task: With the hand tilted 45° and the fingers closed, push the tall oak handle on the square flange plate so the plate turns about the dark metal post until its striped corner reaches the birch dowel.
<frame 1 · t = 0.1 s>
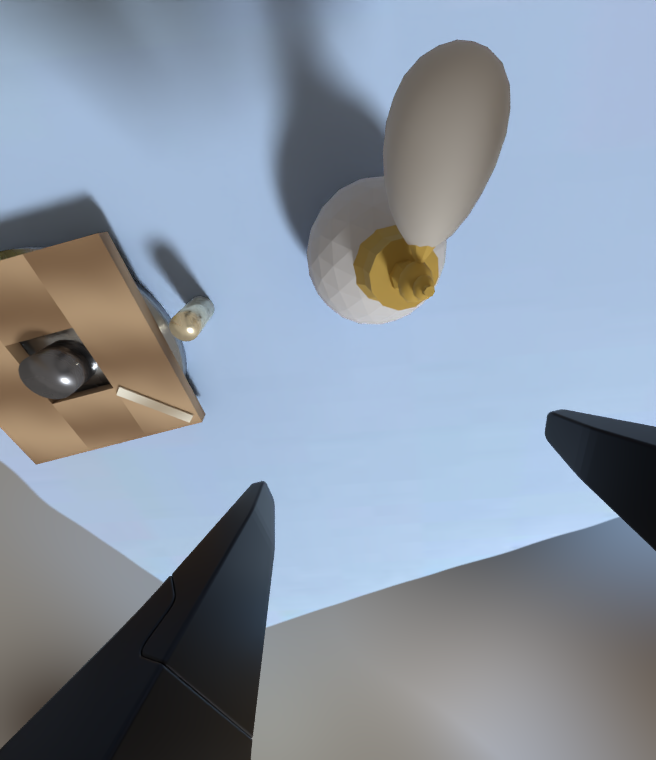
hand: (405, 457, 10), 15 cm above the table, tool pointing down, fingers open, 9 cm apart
flange plate: (5, 406, 16), point 7 cm above the table, hinge at 0.0°
perfume bottle: (357, 230, 20), on the table
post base: (81, 354, 22), on the table
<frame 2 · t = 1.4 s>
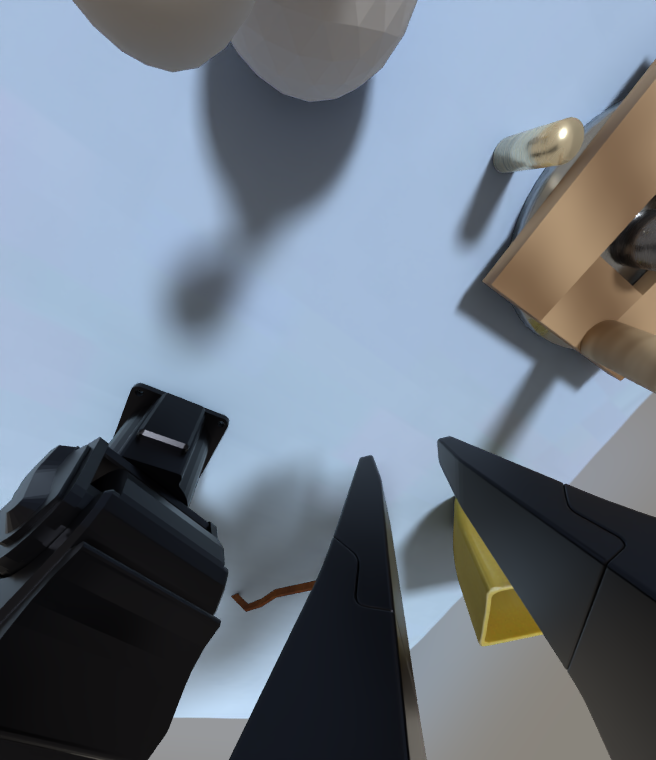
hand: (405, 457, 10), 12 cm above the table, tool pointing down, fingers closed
perfume bottle: (299, 41, 14), on the table
glasses: (313, 591, 36), on the table
flower pot: (478, 505, 31), on the table
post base: (621, 236, 19), on the table
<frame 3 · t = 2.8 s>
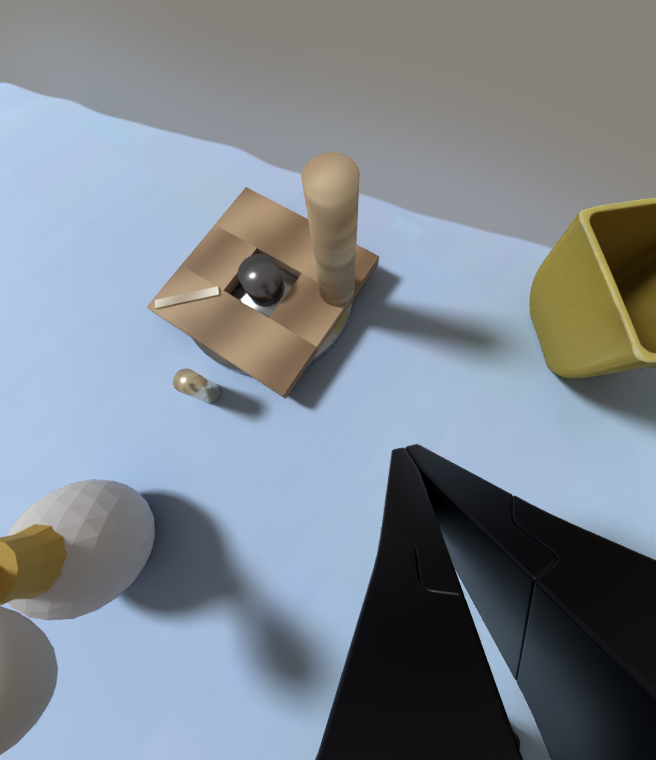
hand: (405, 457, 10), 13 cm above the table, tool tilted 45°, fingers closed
flange plate: (245, 243, 20), point 7 cm above the table, hinge at 0.0°
perfume bottle: (137, 538, 23), on the table
flower pot: (569, 336, 25), on the table
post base: (269, 295, 27), on the table
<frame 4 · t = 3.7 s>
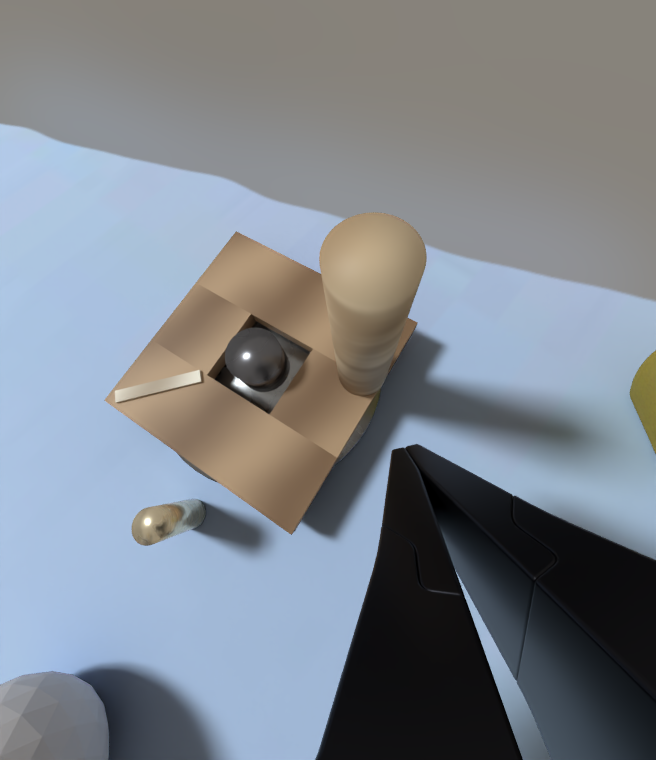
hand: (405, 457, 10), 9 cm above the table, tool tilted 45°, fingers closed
flange plate: (231, 329, 14), point 7 cm above the table, hinge at 0.0°
perfume bottle: (89, 740, 16), on the table
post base: (269, 372, 20), on the table
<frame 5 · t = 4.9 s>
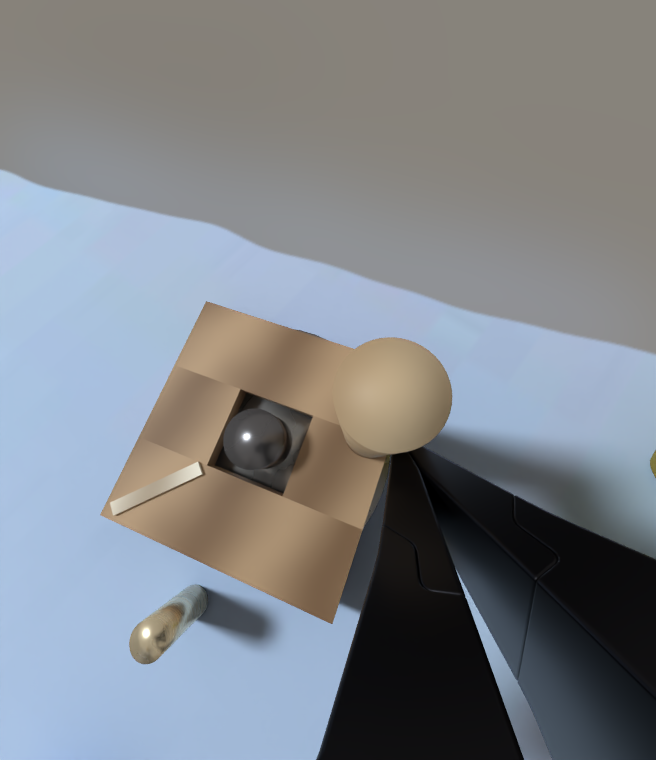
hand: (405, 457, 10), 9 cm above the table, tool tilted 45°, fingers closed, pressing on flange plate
flange plate: (229, 433, 13), point 7 cm above the table, hinge at 9.9°, touching gripper
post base: (270, 442, 19), on the table
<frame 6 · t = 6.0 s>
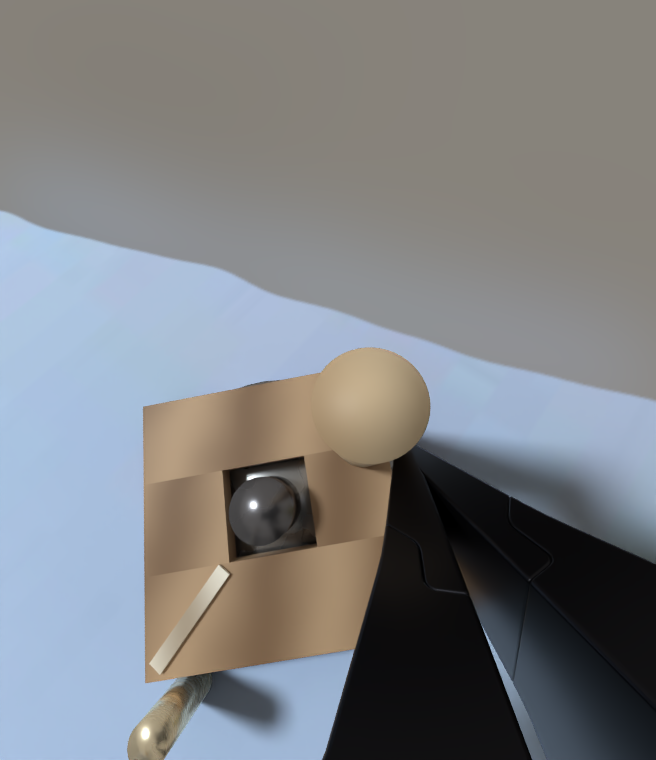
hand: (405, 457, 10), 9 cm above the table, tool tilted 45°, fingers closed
flange plate: (236, 520, 12), point 7 cm above the table, hinge at 39.8°, touching gripper
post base: (277, 503, 18), on the table
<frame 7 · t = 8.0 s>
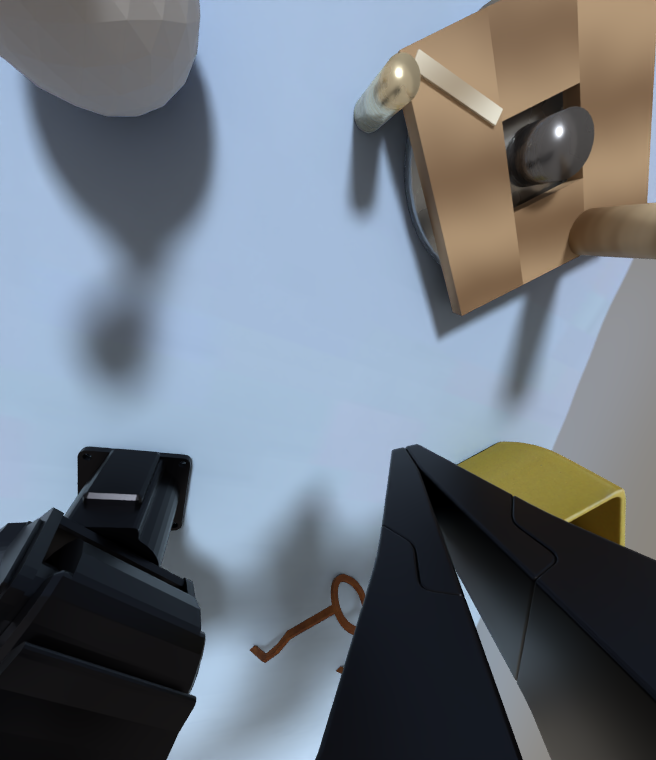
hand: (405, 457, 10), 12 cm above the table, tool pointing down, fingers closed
flange plate: (636, 126, 13), point 7 cm above the table, hinge at 39.9°
perfume bottle: (119, 65, 14), on the table
glasses: (334, 619, 34), on the table
flower pot: (480, 470, 29), on the table
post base: (514, 160, 19), on the table
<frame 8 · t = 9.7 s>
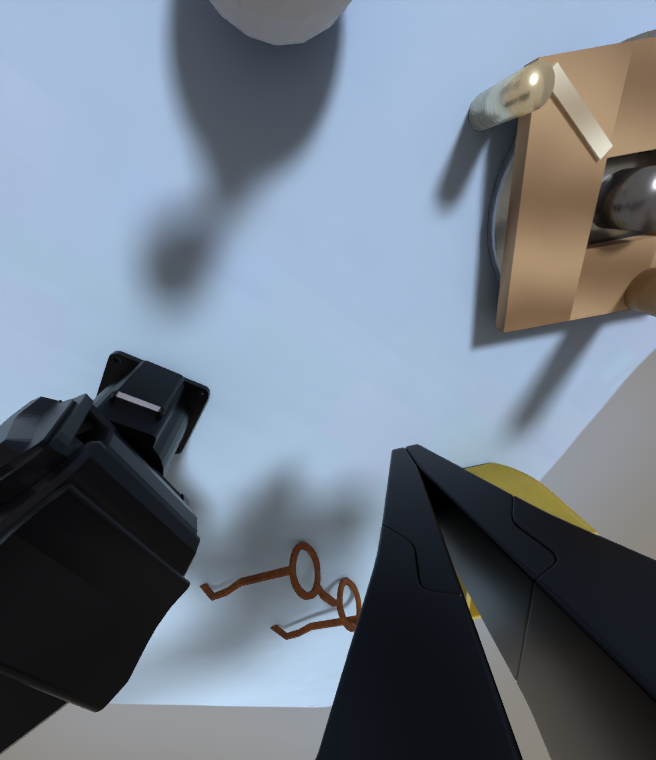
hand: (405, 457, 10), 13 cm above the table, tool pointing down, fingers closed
glasses: (283, 581, 36), on the table
flower pot: (465, 483, 31), on the table
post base: (602, 199, 19), on the table
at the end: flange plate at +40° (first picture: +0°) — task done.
